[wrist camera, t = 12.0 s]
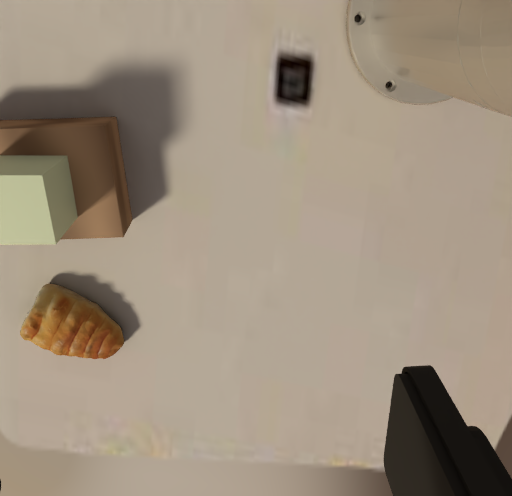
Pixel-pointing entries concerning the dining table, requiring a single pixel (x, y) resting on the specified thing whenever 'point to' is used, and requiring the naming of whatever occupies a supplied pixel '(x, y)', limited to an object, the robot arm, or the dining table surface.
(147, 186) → the dining table surface
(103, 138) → the walnut block
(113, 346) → the pastry
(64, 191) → the green cube
